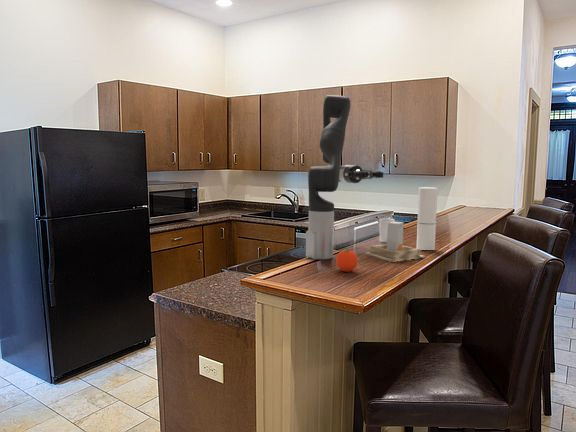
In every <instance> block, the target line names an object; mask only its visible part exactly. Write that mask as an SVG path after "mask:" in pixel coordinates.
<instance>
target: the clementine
mask: <svg viewBox="0 0 576 432" xmlns="http://www.w3.org/2000/svg"><path fill="white" fill-rule="evenodd" d="M335 263H336V266H337V268H338V270H340V271H342V272H345V273H346V272H347V273H349V272H353V271H354V270H355V269H356V267H357V266H358V257H357V254H356V253H355V252H354V251H352V250H349V249H342V250H340V252H339V253H338V254H337V255H336V259H335Z"/></svg>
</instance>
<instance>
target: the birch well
mask: <svg viewBox="0 0 576 432" xmlns="http://www.w3.org/2000/svg"><path fill="white" fill-rule="evenodd" d="M369 247H370V251H365V252H364V255H366V256H368V257H372V258H375V259H378V260H382V261H386V262H389V263H396V262H397V261H398V262H405V261H404V260H406V261H412V260H411V259H415V260H420V259H419V258H423V259H425V258H426V255H422V254H421V250H420V249H416V247H411V246H407V245H403V248H402V251H391V250H387V243H386V244H376V245H370V246H369ZM424 257H425V258H424Z"/></svg>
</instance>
